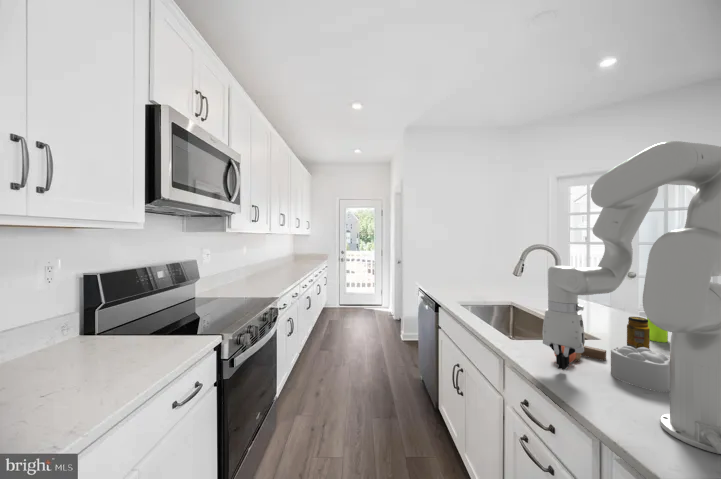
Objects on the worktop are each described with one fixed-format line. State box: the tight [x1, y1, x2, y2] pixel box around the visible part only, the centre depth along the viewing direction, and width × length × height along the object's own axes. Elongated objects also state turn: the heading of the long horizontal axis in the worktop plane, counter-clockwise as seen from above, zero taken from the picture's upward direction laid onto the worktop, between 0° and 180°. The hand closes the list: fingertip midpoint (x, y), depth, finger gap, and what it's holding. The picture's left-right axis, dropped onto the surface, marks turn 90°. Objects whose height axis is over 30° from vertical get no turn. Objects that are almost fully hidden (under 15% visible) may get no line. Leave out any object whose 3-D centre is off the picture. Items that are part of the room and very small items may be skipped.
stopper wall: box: [581, 345, 607, 361], centre depth 108 cm, size 2×12×3 cm, turn 41°
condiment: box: [626, 316, 651, 349], centre depth 110 cm, size 7×8×12 cm
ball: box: [553, 346, 576, 364], centre depth 102 cm, size 6×6×6 cm
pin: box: [574, 344, 585, 362], centre depth 105 cm, size 2×2×8 cm
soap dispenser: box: [646, 316, 669, 343], centre depth 123 cm, size 6×7×20 cm
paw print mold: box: [610, 345, 670, 393], centre depth 89 cm, size 10×13×9 cm
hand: (562, 367), depth 94 cm, fingers closed
